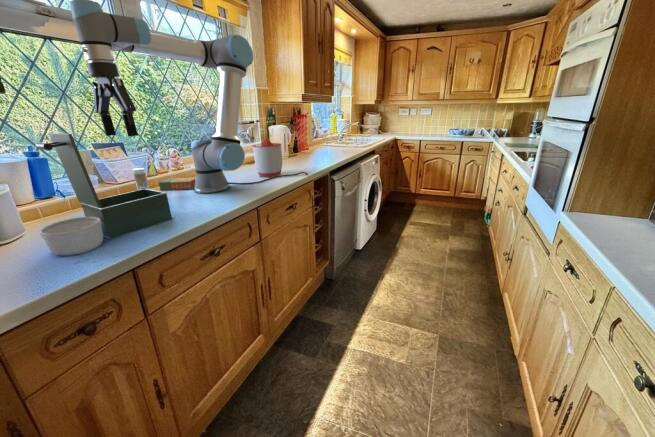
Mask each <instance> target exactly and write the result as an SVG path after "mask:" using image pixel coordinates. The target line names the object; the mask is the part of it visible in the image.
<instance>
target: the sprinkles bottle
mask: <svg viewBox="0 0 655 437" xmlns="http://www.w3.org/2000/svg"><path fill="white" fill-rule="evenodd" d="M131 171H132V175H133V177H134V182H135V186H136V191H137V190H141V189H150V185H149V182H148V179H147V174H146V169H145V168H144V167H139V168H138V167H137V168H133V169H132V170H131Z"/></svg>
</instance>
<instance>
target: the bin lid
mask: <svg viewBox="0 0 655 437" xmlns="http://www.w3.org/2000/svg"><path fill="white" fill-rule="evenodd" d="M48 136H49V137H50V140H51V142H40V141H39V142H36V143H35V147H36V149H38V150H42V151H43V150H44V151H52V150H53V149H54V148H55V151H56V153H57V156H58V158H59V160H60V162H61V165H62V167H63V169H64V172H65V174H66V177H67V178H68V180H69V182H70V185H71V187H72V189H73V191H74V194H75V196H76V199H77V201H78V203H80V204H81V203H84V204H87V205H90V206H93V207H97V208H101V204H100V202H99V199H100V198H99V197H98V195H97V192H96V189H95V187H94V185H93V183H92V180H91V178H90V175H89V172H88V171H87V167H86V165H85V163H84V160H83V158H82V156H81V153H80V151H79V149H78V146H77V144H76V141H75V139H74V136H73V134H72V133H62V132H61V133H57V132H51V133H48Z"/></svg>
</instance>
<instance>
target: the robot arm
mask: <svg viewBox="0 0 655 437" xmlns="http://www.w3.org/2000/svg"><path fill="white" fill-rule="evenodd" d="M69 8H70V12H71V17H72V21H73V23H74V26H75V30H76V33H77V36H78V39H79V42H80V47H81V49H80V51H81V52H82V53H83V56H84V60H85V61H86V62H87V64H86V68H87V70H88V74H89V76H90V77H91V78H95V79H96V81H91V86H92V91H93V103H94V104H93V106H94V113H96V114H98V115H99V116H100V119H101V122H102V126H103V130H104V133H105V136H107V137H110V136H117V132H116V130H115V126H114V123H113V119H112V115H111V112H110V105H111V104H110V102H111V99H113V100H114V102H115V103H116V104H117V106H118V107H119V108H120V110H121V113H120V114H121V115H122V119H123V122H124V123H123V124H124V127H125V130H126V133H127V137H138V136H139V134H138V129H137V126H136V121H135V118H134V112H137V108H136V106H135V104H134V102H133V100H132V98H131V96H130V93H129V92H128V90H127V89H126V86H125V84H124V80H123V79H122V78H120V71H119V68H118V64H116V61H117V60H116V56H115V53H114V52H117V51H120V52H127V53H132V54H133V53H134V54H139V55H147V56H153V57H158V58H164V59H171V60H176V61H183V62H189V63H194V65H196V66H197V67H202V68H208V69H211V70H217V72H218V73H219V74H220V79H219V88H218V102H217V103H218V104H217V117H216V129H215V130H216V132H215V133H214V134H213V135H212V136H211V138H206V139H197V140H193V141H191V144H190V148H191V154H192V159H193V164H194V169H195V177H196V179H195V188H194V192H195V193H196V194H197V193H198V194H212V193H213V194H214V193H219V192H223V191H226V190H229V189H230V185H254V184H255V185H256V184H260V183H264V182H266V181H270V180H273V179H277V178H282V177H293V176H298V175H301V174H305V175H309V173H308V172H306V171H299V172H297V173H292V174H282V175H281V174H280V175H278V176H272V177H267V178H265V179H263V180H259V181H252V182H228V180H227V177H226V176H225V173H224V172H225V171H226V172H228V171H230V172H231V171H232V172H233V171H236V170H238V169H239V168H241V167H242V165H243V163H244V161H245V157H246V155H245V150H244V149H243V146H242V145H241V139H240V137H238V133H239V121H240V108H241V96H242V84H243V78H245V77H246V76H247V69H248V67H250V66H251V65H252V64H253V61H254V51H253V48H252V46H251V44H250V42H249V40H247V39H246V38H245V37H244V36H242V35H240V34H229V35H228V36H226V37H220V38H216V39H212V40H199V39H195V40H194V41H190V40H186V39H181V38H178V37H172V36H167V35H164V34H158V33H155V32H151V29H150V25H149V24H148V23H147V21H145V20H144V19H141V18H137V17H135V16H127V15H126V16H125V15H121V14H113V13H109V12H104V9H103V7H102V5H101V4H100V3H99V2H97V1H93V0H71V1H70V2H69ZM314 209H315V208H314V195H312V194H311V210H312V211H311V213H312V214H311V215H312V216H311V217H312V234H313V236H315V235H316V234H315V214H314V212H315V211H314Z"/></svg>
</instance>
